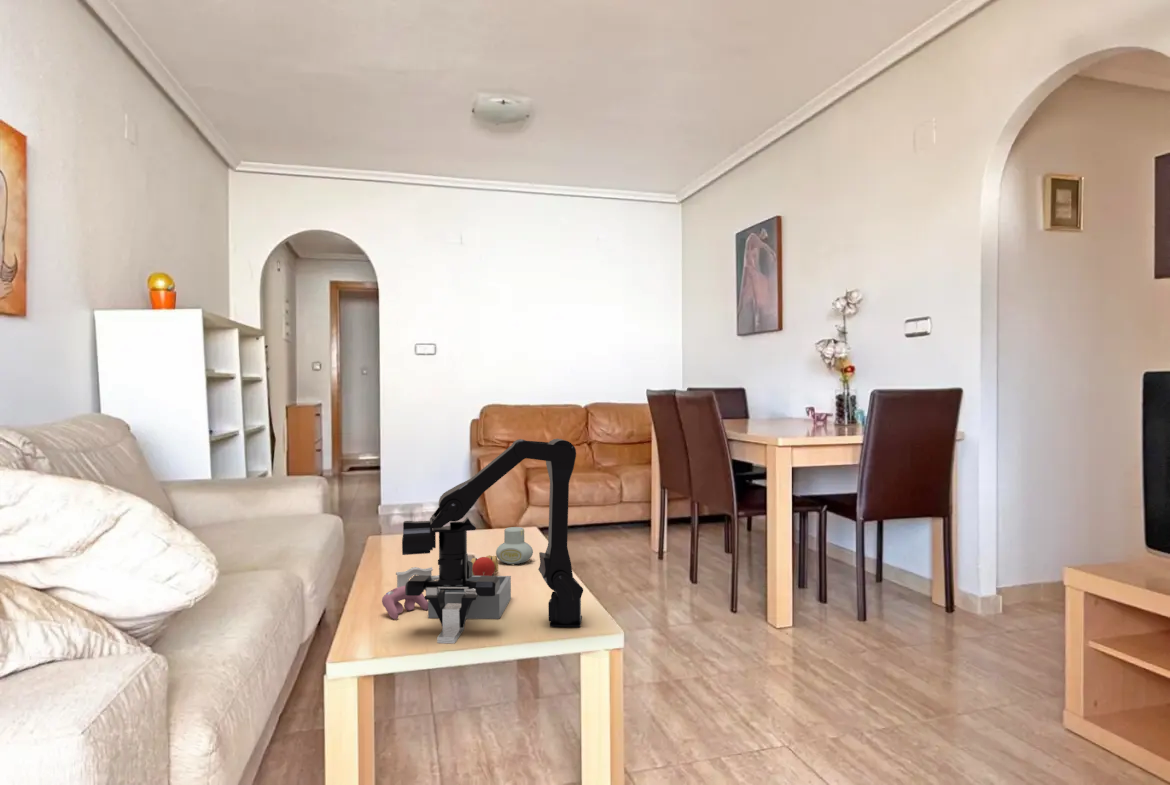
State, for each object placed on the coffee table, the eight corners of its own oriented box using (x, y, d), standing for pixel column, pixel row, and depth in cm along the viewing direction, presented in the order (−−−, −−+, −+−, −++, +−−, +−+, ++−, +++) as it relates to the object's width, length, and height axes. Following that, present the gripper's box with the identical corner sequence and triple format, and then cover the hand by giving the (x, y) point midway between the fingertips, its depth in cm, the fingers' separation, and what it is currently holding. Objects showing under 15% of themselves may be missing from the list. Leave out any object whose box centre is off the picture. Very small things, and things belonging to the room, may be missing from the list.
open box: (510, 598, 164) (510, 575, 164) (499, 618, 149) (499, 594, 149) (446, 597, 165) (445, 575, 165) (428, 618, 150) (428, 593, 150)
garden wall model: (441, 585, 176) (441, 562, 176) (443, 586, 175) (443, 564, 175) (395, 592, 170) (395, 568, 170) (397, 594, 169) (397, 570, 169)
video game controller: (421, 613, 158) (412, 584, 160) (431, 608, 156) (423, 578, 158) (384, 624, 150) (376, 594, 153) (395, 619, 148) (386, 588, 150)
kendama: (473, 570, 196) (465, 578, 179) (477, 548, 197) (470, 554, 180) (499, 575, 197) (494, 583, 179) (503, 553, 198) (498, 559, 180)
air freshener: (535, 559, 203) (535, 526, 204) (529, 566, 195) (529, 531, 195) (500, 558, 205) (500, 525, 205) (492, 565, 197) (492, 531, 197)
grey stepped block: (464, 629, 142) (463, 603, 142) (454, 643, 134) (454, 615, 134) (447, 629, 143) (447, 603, 143) (437, 643, 135) (437, 615, 135)
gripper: (504, 543, 148) (504, 614, 148) (420, 543, 149) (421, 613, 149) (494, 555, 137) (494, 632, 137) (404, 555, 138) (404, 631, 138)
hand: (453, 626), depth 140 cm, fingers closed on grey stepped block, 3 cm apart
